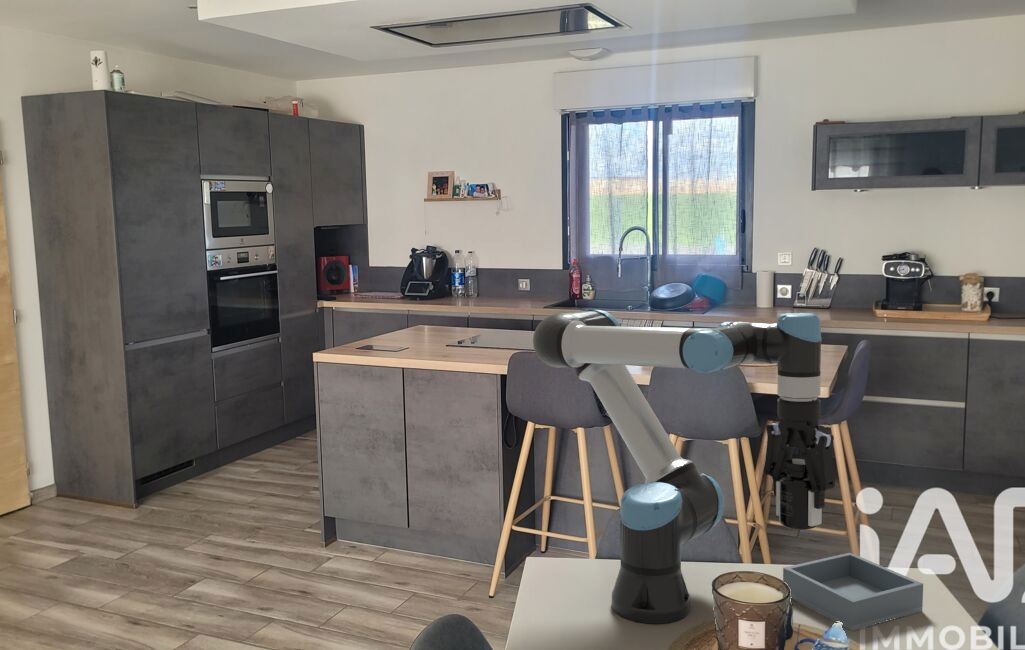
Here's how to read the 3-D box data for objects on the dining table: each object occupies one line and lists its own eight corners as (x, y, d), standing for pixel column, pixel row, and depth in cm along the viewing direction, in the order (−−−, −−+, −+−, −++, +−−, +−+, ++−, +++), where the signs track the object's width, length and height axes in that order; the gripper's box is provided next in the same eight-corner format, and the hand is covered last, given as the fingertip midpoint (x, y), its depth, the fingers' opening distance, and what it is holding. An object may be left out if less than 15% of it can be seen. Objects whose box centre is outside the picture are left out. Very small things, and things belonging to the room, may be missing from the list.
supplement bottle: (822, 530, 155) (822, 466, 154) (783, 530, 156) (783, 466, 155) (812, 518, 162) (812, 456, 161) (775, 518, 163) (775, 456, 162)
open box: (782, 594, 172) (783, 567, 171) (849, 577, 179) (849, 552, 179) (852, 631, 156) (853, 602, 155) (922, 611, 163) (923, 583, 163)
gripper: (858, 402, 150) (857, 529, 153) (771, 388, 167) (771, 502, 169) (830, 408, 146) (829, 538, 149) (744, 392, 163) (744, 509, 165)
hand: (798, 519), depth 159 cm, fingers closed on supplement bottle, 7 cm apart
